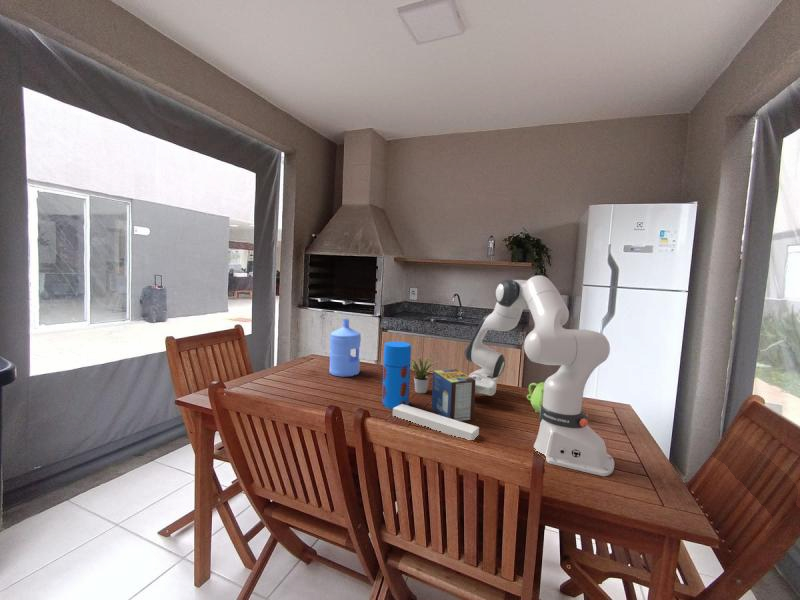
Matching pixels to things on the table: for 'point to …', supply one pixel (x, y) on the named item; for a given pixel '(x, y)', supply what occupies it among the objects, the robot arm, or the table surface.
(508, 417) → the table surface
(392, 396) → the thermos
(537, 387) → the teapot
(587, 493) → the table surface
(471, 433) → the board
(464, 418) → the protein box
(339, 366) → the water jug
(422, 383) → the house plant
